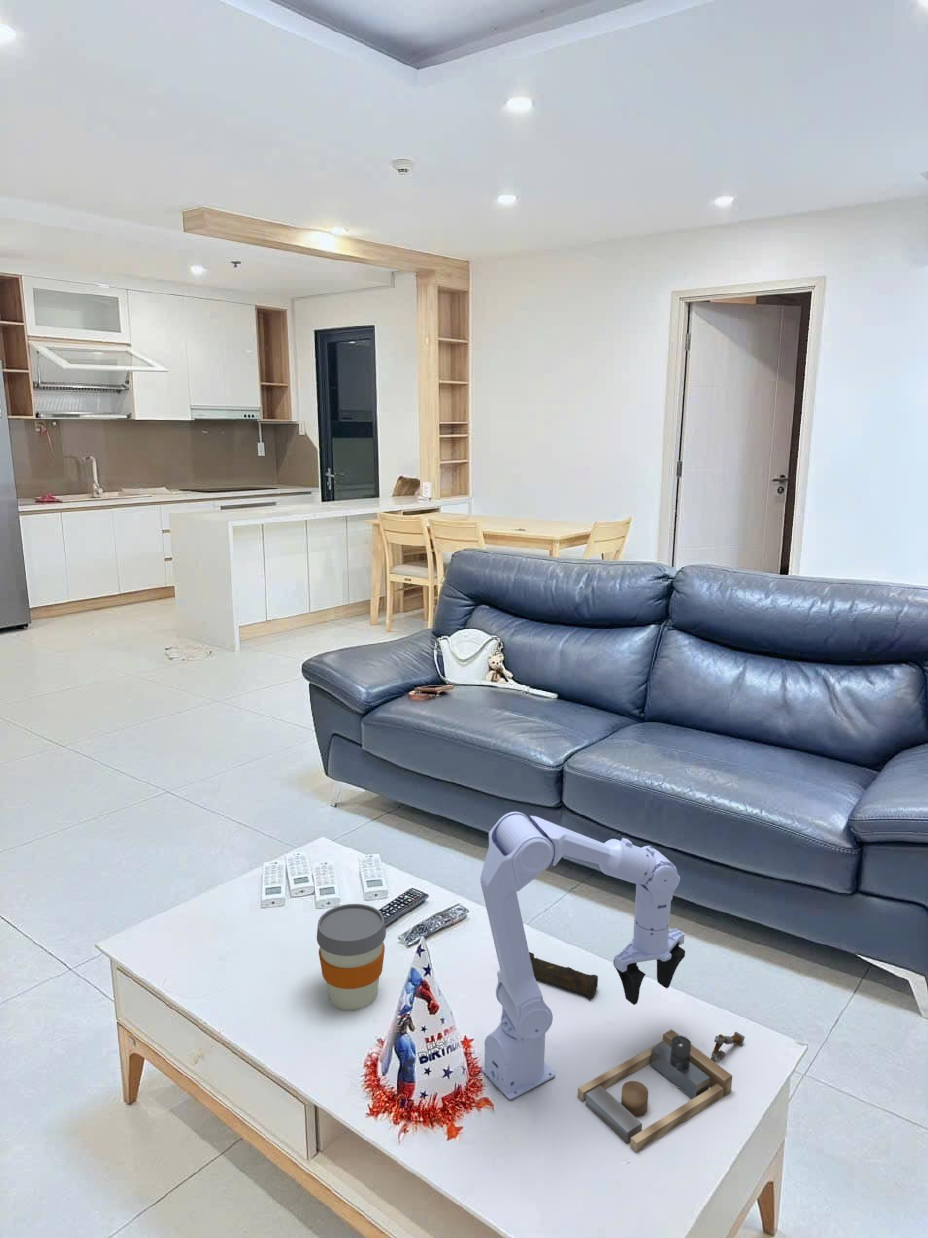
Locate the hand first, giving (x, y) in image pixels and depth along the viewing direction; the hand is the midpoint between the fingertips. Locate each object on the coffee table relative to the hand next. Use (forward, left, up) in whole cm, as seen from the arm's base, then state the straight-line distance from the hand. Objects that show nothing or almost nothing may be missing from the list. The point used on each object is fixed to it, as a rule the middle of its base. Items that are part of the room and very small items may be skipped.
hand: (647, 992), depth 146 cm
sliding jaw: (-2, -10, -9) cm, 14 cm away
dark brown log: (-4, +22, -10) cm, 24 cm away
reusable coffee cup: (-36, +39, -10) cm, 54 cm away
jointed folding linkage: (+10, -10, -10) cm, 17 cm away
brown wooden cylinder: (-12, -10, -10) cm, 18 cm away
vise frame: (-7, -9, -9) cm, 15 cm away
